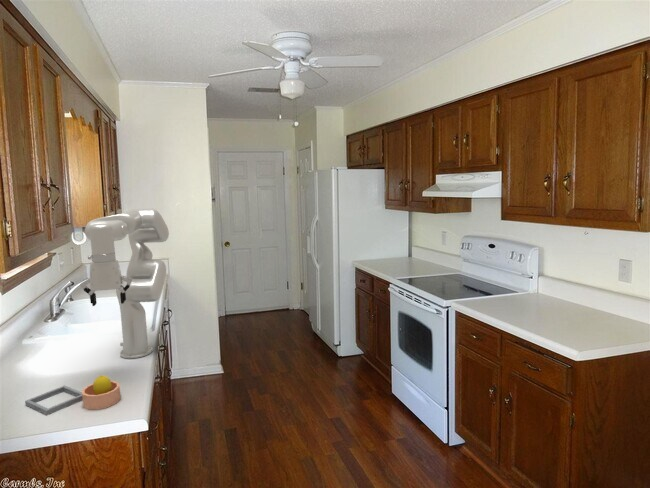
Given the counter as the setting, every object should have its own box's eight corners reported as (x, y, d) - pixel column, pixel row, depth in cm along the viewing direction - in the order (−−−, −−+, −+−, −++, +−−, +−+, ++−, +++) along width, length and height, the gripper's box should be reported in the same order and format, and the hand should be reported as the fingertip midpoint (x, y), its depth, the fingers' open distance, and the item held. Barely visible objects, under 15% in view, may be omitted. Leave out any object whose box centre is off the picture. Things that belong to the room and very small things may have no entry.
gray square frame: (25, 405, 155) (25, 400, 155) (64, 389, 166) (64, 385, 166) (46, 415, 148) (46, 410, 148) (86, 398, 159) (86, 394, 159)
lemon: (94, 396, 158) (92, 373, 157) (112, 393, 161) (110, 370, 159) (93, 403, 153) (91, 380, 152) (112, 400, 156) (110, 377, 154)
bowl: (76, 404, 155) (74, 391, 154) (107, 390, 164) (106, 378, 164) (96, 412, 149) (94, 399, 149) (127, 398, 159) (126, 385, 158)
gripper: (74, 261, 164) (80, 309, 167) (127, 258, 168) (132, 304, 171) (80, 257, 171) (85, 302, 174) (131, 254, 175) (135, 298, 178)
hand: (108, 303), depth 173 cm, fingers open, 9 cm apart
